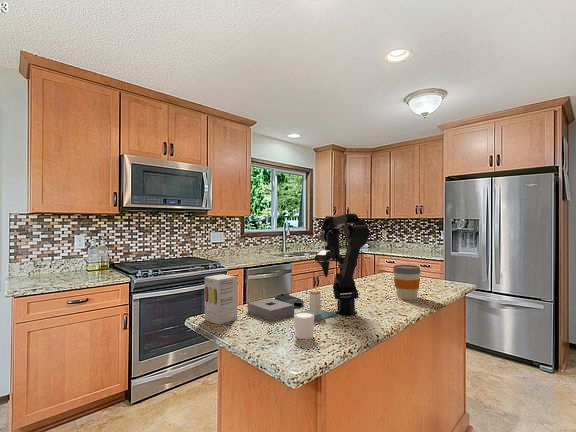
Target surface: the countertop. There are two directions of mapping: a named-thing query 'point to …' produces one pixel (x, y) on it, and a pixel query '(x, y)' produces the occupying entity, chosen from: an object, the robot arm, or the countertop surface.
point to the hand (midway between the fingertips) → (333, 278)
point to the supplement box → (220, 298)
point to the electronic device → (289, 299)
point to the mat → (321, 315)
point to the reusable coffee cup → (406, 281)
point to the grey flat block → (271, 309)
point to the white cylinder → (304, 325)
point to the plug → (315, 302)
